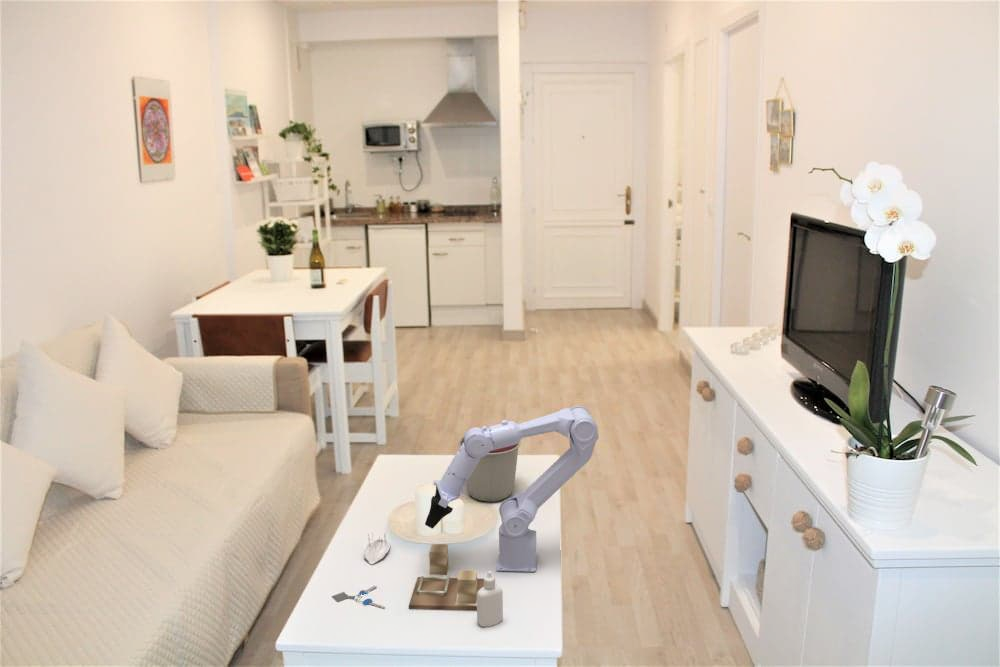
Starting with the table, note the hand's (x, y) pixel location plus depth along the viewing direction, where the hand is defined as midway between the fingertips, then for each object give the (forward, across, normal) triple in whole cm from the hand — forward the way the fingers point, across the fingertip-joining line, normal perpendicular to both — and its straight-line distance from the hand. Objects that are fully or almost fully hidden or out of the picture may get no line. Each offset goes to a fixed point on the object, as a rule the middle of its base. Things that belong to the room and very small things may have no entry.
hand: (430, 520), depth 201 cm
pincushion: (+19, -8, -6) cm, 21 cm away
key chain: (+20, +12, -5) cm, 23 cm away
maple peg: (+10, 0, +8) cm, 13 cm away
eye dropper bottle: (+5, +21, +21) cm, 30 cm away
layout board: (+9, +11, +11) cm, 18 cm away
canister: (+3, -44, +15) cm, 46 cm away
